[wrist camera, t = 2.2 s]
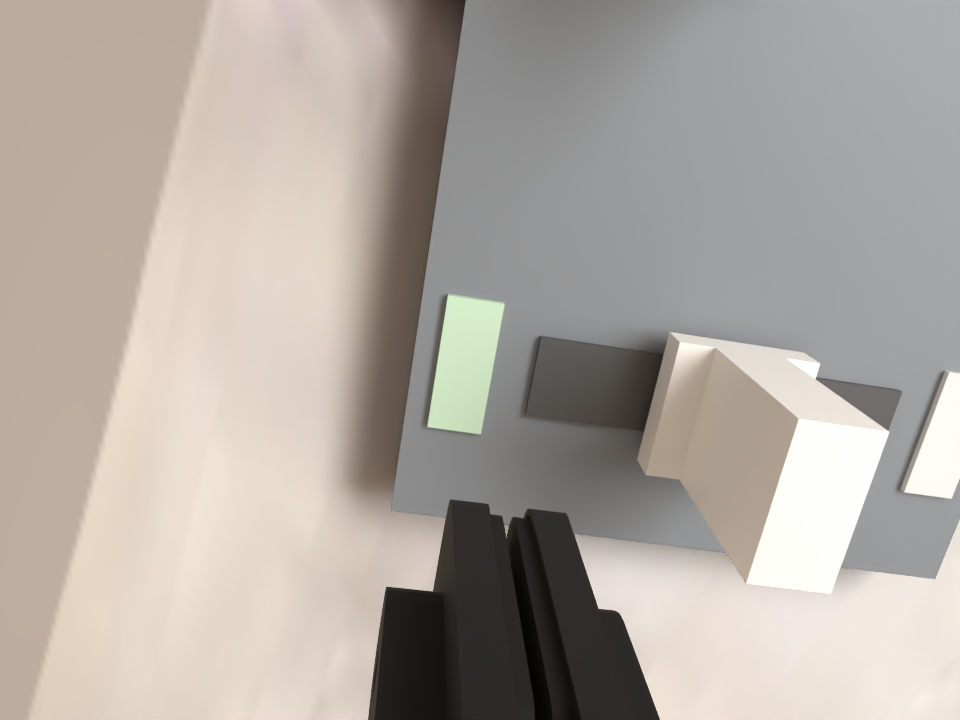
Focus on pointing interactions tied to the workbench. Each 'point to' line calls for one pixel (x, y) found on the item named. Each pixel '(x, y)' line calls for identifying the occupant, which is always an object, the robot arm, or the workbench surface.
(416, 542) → the workbench surface
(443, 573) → the robot arm
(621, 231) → the breaker panel
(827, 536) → the breaker handle
